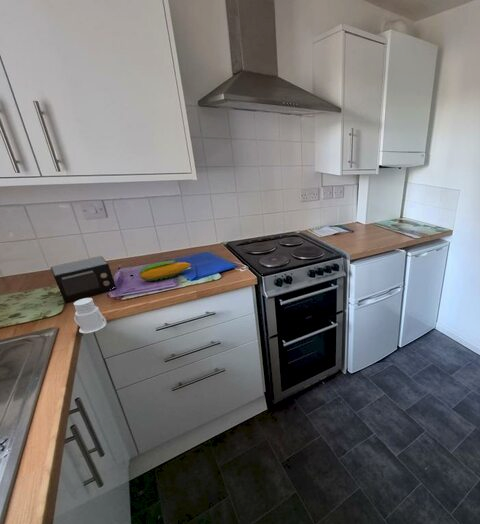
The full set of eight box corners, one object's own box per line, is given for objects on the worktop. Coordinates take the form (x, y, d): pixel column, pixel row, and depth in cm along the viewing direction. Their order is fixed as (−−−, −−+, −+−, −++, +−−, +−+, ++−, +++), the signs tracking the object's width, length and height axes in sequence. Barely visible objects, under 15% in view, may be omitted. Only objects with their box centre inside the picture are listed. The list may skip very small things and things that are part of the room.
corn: (135, 264, 128) (186, 253, 140) (140, 279, 131) (189, 268, 143) (138, 270, 123) (191, 259, 135) (143, 286, 126) (194, 274, 138)
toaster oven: (61, 293, 120) (49, 266, 115) (110, 280, 130) (101, 255, 126) (65, 304, 112) (53, 276, 107) (117, 290, 122) (108, 263, 118)
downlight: (72, 335, 94) (61, 308, 91) (85, 323, 101) (74, 297, 97) (101, 332, 96) (91, 305, 92) (112, 320, 102) (103, 294, 99)
